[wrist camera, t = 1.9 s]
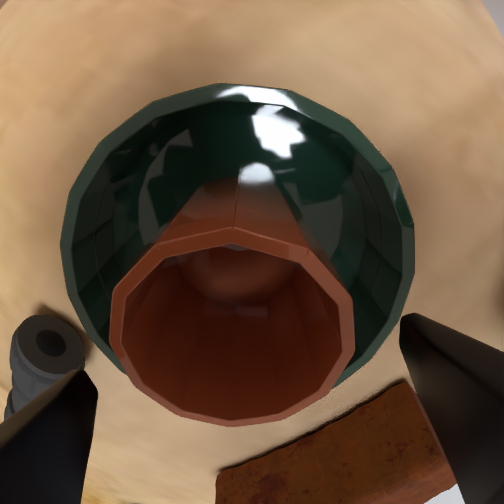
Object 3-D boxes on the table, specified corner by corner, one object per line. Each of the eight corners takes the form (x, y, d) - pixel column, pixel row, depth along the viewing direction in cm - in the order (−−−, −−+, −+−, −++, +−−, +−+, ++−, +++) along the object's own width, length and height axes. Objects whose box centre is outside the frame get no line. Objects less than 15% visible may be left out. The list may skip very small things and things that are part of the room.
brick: (207, 544, 17) (213, 469, 25) (271, 557, 19) (269, 494, 27) (446, 460, 12) (402, 372, 20) (466, 482, 15) (432, 414, 23)
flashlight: (38, 294, 17) (-6, 339, 12) (102, 338, 19) (70, 395, 14) (18, 399, 22) (-5, 436, 17) (62, 428, 23) (44, 468, 18)
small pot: (292, 163, 14) (343, 203, 7) (314, 291, 17) (356, 404, 9) (152, 196, 15) (71, 264, 7) (192, 314, 17) (163, 432, 10)
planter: (349, 78, 13) (392, 60, 8) (376, 323, 18) (406, 377, 14) (76, 147, 14) (19, 159, 9) (158, 363, 19) (141, 421, 15)
